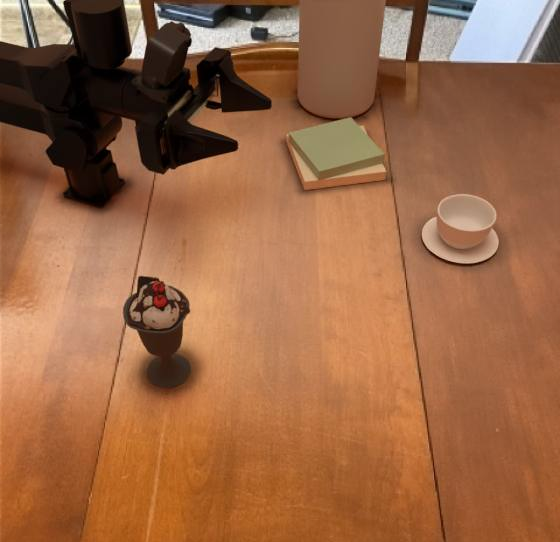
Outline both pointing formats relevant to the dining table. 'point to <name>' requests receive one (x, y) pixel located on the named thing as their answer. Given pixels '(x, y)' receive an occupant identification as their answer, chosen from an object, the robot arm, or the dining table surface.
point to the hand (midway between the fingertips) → (254, 124)
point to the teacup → (462, 229)
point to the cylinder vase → (339, 55)
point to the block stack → (335, 155)
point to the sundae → (160, 328)
